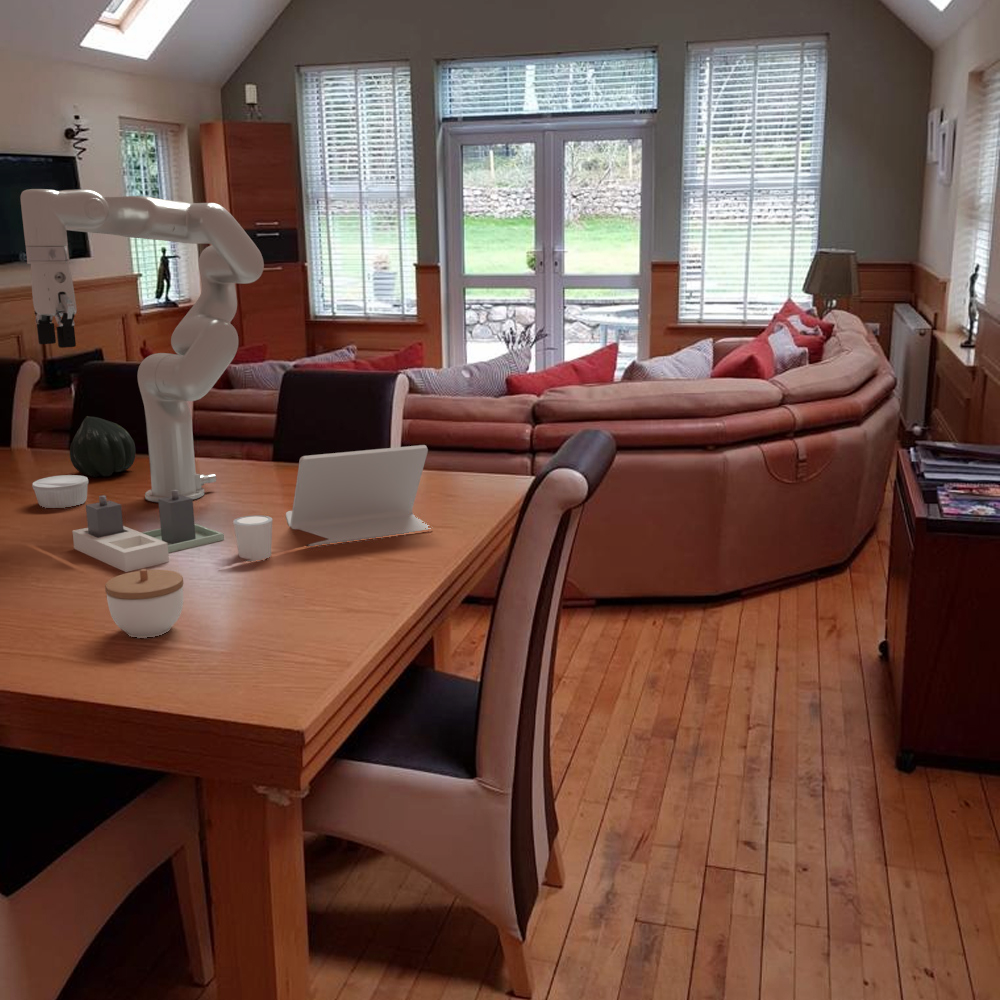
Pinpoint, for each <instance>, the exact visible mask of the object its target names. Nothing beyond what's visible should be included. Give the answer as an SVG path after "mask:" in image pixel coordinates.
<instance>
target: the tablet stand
mask: <svg viewBox="0 0 1000 1000" xmlns="http://www.w3.org/2000/svg"><path fill="white" fill-rule="evenodd" d="M428 451H429V449H428V447H427V445H425V444H419V445H411V446H410V445H408V446H399V447H389V448H387V447H386V448H375V449H365V450H355V451H353V450H352V451H344V452H343V451H342V452H335V453H334V452H333V453H323V454H311V455H303V456H301V457H300V458H299V462H298V468H297V469H298V470H297V477H296V484H295V490H294V497H293V503H292V510H288V511H287V512H285V520H286V524H287V526H288V527H290V528H291V529H292V530H300V531H303V532H306V533H310V534H312V535H316V536H319V537H321V538H325V540H320V541H316V542H313V543H310V544H309V543H308V544H306V545H307V546H315V545H322V544H330V543H337V542H347V541H354V540H361V539H369V538H376V537H383V536H389V535H396V534H404V533H409V532H415V531H422V530H428V529H431V528H428V526H430V525H429V524H428V523H426V522H425V521H423V520H422V519H420V518H419V517H417V516H416V515H414V512H413V508H414V504H415V500H416V497H417V494H418V489H419V486H420V482H421V477H422V474H423V470H424V466H425V463H426V459H427V455H428V453H429V452H428ZM415 516H416V517H417V518H416V517H415ZM418 518H419V519H418ZM422 522H424V523H422ZM425 523H426V524H425ZM427 524H428V525H427ZM425 528H426V529H425ZM307 546H306V547H307Z"/></svg>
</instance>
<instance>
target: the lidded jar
mask: <svg viewBox="0 0 1000 1000" xmlns="http://www.w3.org/2000/svg"><path fill="white" fill-rule="evenodd" d="M104 585H105V586H104V587H105V588H104V589H105V594H106V600H107V605H108V606H107V607H108V610H109V612H110V617H111V618H112V620H113V622H114V623H115V624H116V626H117V627H118V628H119V629H120V630H122V631H123V632H125V633H126V635H127V634H128V635H129V636H128V635H127V636H128V637H130V636H131V637H130V638H132V637H137V638H136V639H140V638H144V639H148V638H147V637H153V638H156V637H155V636H158V637H160V636H159V635H161V636H163V635H162V634H164V633H166V632H168V631H169V630H170V629H171V628H172V627H174V625H175V624H176V622H177V621H178V620H179V618H180V616H181V614H182V612H183V611H182V610H183V605H184V577H183V575H182V574H181V573H179V572H177V571H174V570H168V569H147V568H141V569H139V570H134V571H129V572H125V573H121V574H120V575H116V576H114V577H111V578H110V579H109V580H108V581H107V582H106V583H105V584H104ZM170 631H171V630H170ZM170 631H169V632H170ZM169 632H168V633H169ZM166 634H167V633H166ZM164 635H165V634H164Z"/></svg>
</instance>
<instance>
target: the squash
mask: <svg viewBox="0 0 1000 1000" xmlns="http://www.w3.org/2000/svg"><path fill="white" fill-rule="evenodd" d="M69 458H70V462H71V465H72V466H73V467H74V469H76V470H77V472H79V473H80V474H82V475H86V476H90V477H93V478H98V477H97V476H99V477H101V476H102V477H105V478H107V477H110V476H112V475H113V473H122V472H125V471H127V470H128V469H130V468H131V467H132V466H133V464H134V462H135V459H136V445H135V441H134V439H133V438H132V437H131V435H130V433H129V431H127V430H126V429H125V428H124V427H122V426H121V425H119V424H118V423H115V422H113V421H111V420H106V419H103V418H100V417H97V416H90V415H89V416H88V415H87V416H85V418H83V420H82V422H81V424H80V426H79V428H78V429H77V431H76V433H75V435H74V437H73V439H72V441H71V443H70V446H69ZM106 476H107V477H106Z"/></svg>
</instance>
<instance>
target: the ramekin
mask: <svg viewBox="0 0 1000 1000" xmlns="http://www.w3.org/2000/svg"><path fill="white" fill-rule="evenodd" d="M88 485H89V479H88V477H87V476H84V475H74V474H73V475H72V474H67V475H65V474H64V475H63V474H62V475H53V476H48V477H44V478H39V479H36V480H35V481H33V482H32V489H33V490H34V493H35V498H36V501H37V503H38V504H39V506H40V507H41V506H42V507H41V508H43V507H45V508H44V509H46V508H64V509H66V508H65V507H71V506H76V505H79V506H81V505H80V504H82V505H83V504H85V503H86V501H87V498H88ZM76 507H77V506H76ZM71 508H72V507H71Z"/></svg>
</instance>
